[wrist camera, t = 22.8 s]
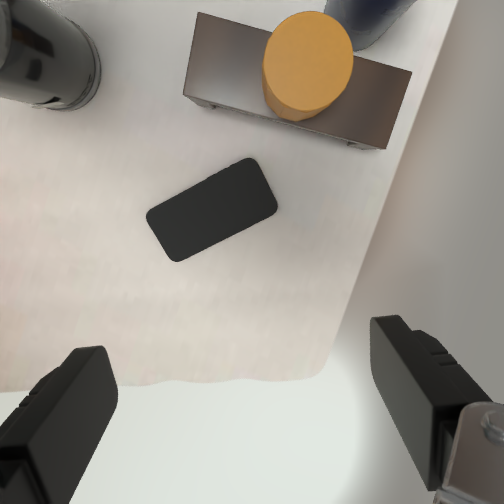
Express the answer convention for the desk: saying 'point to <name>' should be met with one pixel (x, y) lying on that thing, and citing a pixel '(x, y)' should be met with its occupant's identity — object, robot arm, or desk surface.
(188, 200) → the phone
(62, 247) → the desk surface
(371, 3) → the flask
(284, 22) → the cap
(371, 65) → the small brown bench
